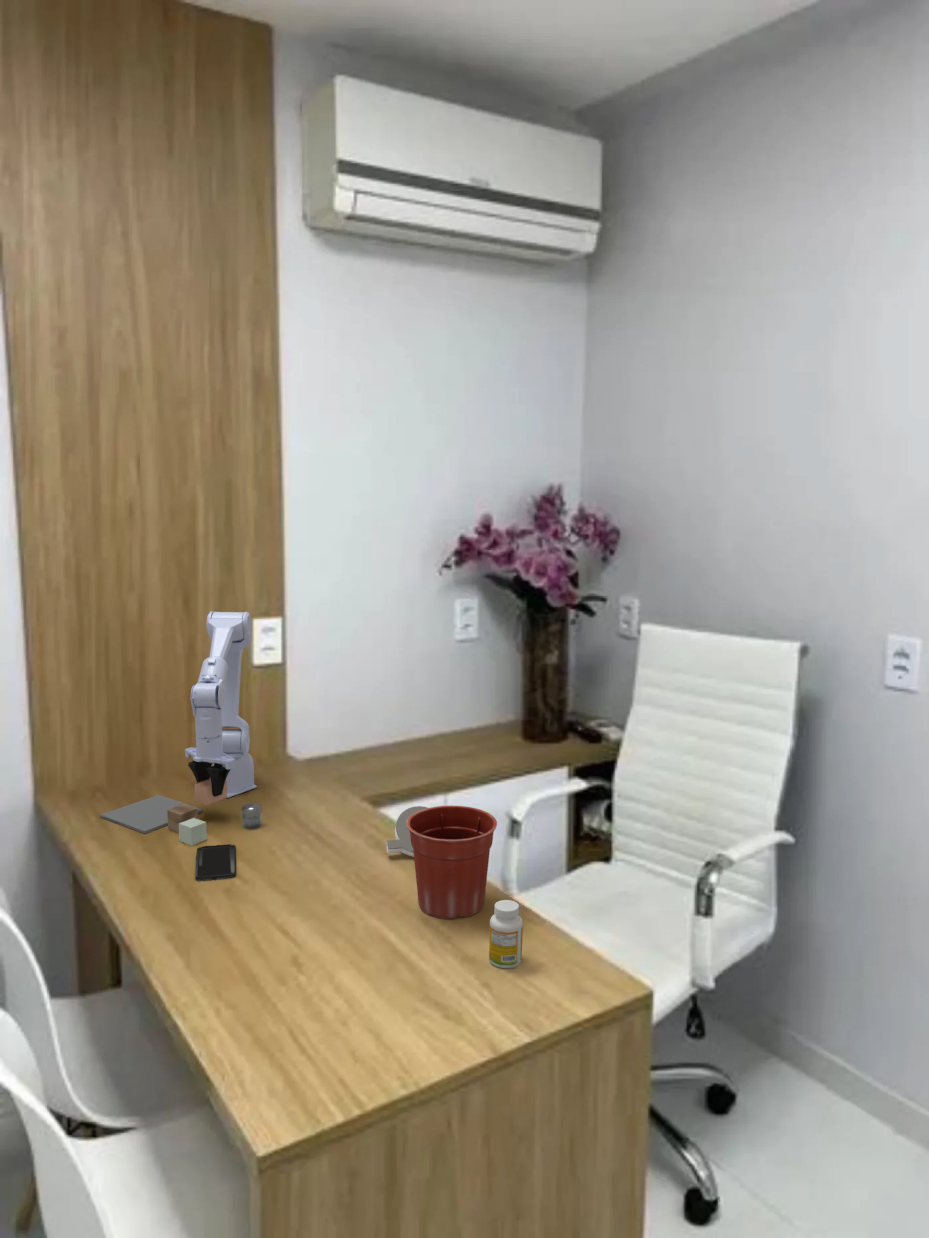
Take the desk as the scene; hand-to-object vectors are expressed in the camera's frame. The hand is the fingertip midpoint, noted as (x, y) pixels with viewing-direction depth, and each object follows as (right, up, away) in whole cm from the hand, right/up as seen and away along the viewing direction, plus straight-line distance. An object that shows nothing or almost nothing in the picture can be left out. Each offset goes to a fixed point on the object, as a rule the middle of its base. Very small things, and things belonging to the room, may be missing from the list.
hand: (210, 793), depth 212 cm
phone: (+7, -10, -23) cm, 26 cm away
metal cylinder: (+10, -7, -4) cm, 13 cm away
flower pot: (+55, -14, -39) cm, 69 cm away
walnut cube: (-5, -7, -6) cm, 10 cm away
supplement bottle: (+64, -17, -58) cm, 88 cm away
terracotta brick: (0, -1, 0) cm, 1 cm away
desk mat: (-14, -5, +2) cm, 15 cm away
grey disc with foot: (+48, -9, -15) cm, 51 cm away
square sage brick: (-1, -8, -12) cm, 14 cm away
